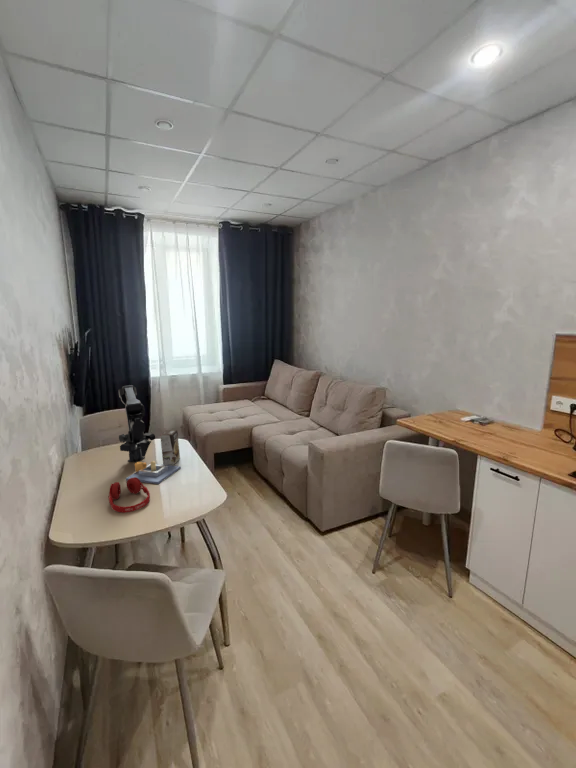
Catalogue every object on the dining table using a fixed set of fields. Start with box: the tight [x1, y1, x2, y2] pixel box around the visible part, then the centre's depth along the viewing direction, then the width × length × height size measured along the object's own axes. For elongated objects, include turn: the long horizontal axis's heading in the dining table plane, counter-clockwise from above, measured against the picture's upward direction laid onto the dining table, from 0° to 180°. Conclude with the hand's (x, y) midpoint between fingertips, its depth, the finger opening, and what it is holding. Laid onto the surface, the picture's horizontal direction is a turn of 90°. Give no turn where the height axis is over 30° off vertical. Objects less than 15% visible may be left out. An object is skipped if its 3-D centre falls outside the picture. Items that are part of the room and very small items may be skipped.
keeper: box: [125, 460, 181, 485], centre depth 177 cm, size 18×18×7 cm
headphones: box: [108, 477, 151, 514], centre depth 152 cm, size 15×7×20 cm
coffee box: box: [159, 429, 181, 466], centre depth 192 cm, size 9×6×16 cm
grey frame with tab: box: [134, 461, 168, 477], centre depth 178 cm, size 15×8×4 cm, turn 73°
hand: (140, 458), depth 179 cm, fingers open, 5 cm apart
